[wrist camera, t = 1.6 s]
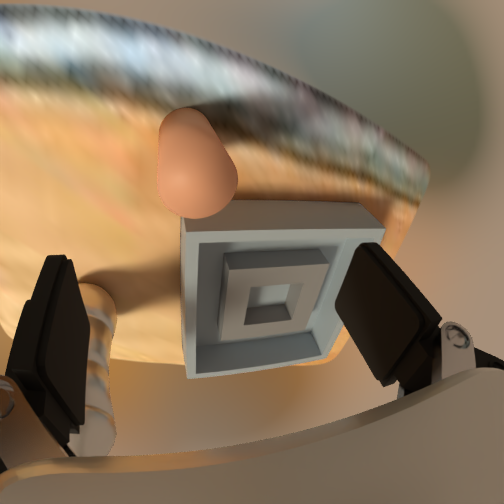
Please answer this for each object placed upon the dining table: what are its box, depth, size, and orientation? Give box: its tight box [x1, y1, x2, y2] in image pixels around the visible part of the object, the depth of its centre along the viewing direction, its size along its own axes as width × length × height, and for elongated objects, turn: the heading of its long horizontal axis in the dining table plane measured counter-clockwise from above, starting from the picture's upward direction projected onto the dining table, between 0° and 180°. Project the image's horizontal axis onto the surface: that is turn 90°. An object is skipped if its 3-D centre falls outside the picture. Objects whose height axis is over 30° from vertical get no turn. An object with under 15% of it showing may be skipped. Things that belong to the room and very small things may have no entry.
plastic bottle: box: [68, 283, 117, 457], centre depth 22 cm, size 6×7×20 cm
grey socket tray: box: [180, 200, 386, 379], centre depth 32 cm, size 20×18×5 cm
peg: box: [157, 108, 238, 219], centre depth 19 cm, size 4×4×10 cm
